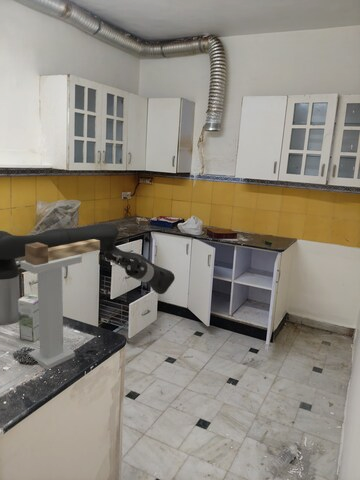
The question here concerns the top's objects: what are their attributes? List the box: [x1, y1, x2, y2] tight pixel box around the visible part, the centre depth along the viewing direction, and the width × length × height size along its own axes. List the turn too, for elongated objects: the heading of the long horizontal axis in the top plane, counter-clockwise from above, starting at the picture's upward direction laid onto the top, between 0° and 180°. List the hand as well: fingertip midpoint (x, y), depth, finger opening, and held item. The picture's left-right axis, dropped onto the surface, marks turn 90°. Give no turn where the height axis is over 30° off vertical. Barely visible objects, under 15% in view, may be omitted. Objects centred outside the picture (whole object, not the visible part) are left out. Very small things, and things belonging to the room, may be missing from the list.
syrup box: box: [18, 294, 40, 343], centre depth 129 cm, size 6×6×14 cm
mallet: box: [24, 239, 100, 265], centre depth 116 cm, size 24×5×5 cm, turn 143°
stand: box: [20, 254, 83, 371], centre depth 117 cm, size 16×10×32 cm, turn 143°
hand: (112, 256), depth 132 cm, fingers open, 8 cm apart
